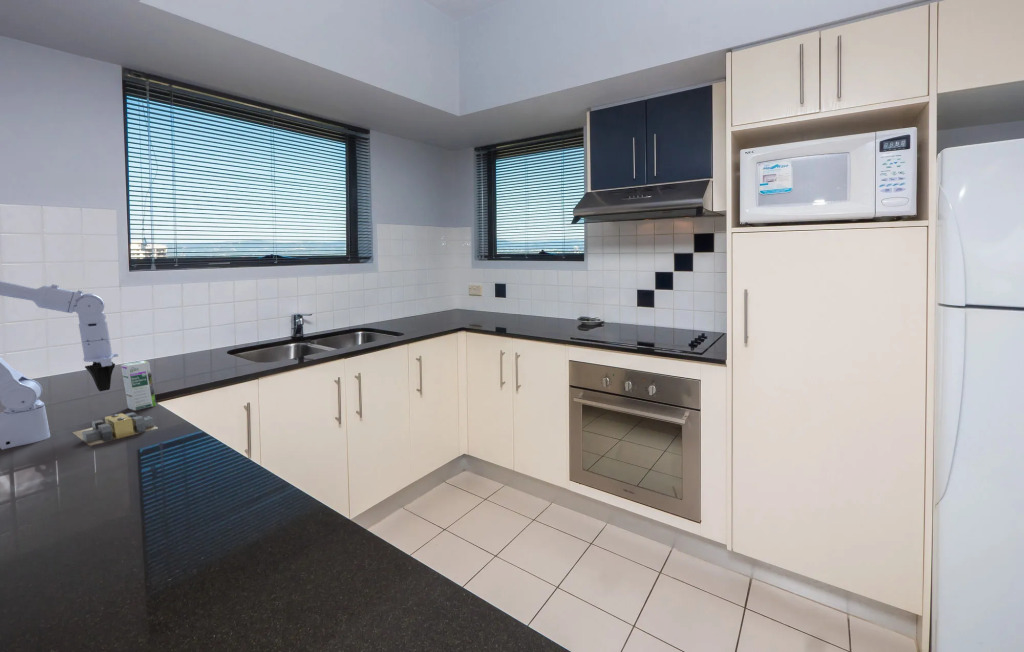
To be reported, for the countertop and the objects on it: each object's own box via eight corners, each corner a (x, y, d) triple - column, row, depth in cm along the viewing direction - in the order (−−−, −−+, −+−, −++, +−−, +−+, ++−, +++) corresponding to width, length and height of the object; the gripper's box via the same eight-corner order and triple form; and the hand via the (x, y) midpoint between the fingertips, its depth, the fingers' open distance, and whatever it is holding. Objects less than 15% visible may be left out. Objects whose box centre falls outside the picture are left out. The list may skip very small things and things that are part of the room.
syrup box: (134, 413, 147) (126, 365, 145) (127, 410, 150) (120, 363, 148) (157, 408, 151) (149, 361, 149) (150, 405, 155) (143, 359, 153)
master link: (116, 438, 122) (113, 421, 121) (107, 432, 127) (104, 416, 126) (134, 434, 125) (131, 417, 124) (124, 428, 130) (121, 412, 129)
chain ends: (90, 445, 118) (87, 430, 117) (80, 438, 123) (78, 424, 123) (158, 428, 129) (155, 414, 128) (146, 422, 134) (144, 409, 134)
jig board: (90, 448, 118) (89, 445, 118) (72, 435, 129) (72, 432, 129) (158, 431, 129) (158, 428, 129) (137, 419, 140) (137, 417, 140)
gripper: (122, 339, 129) (130, 390, 131) (107, 336, 138) (115, 383, 140) (87, 343, 123) (96, 396, 125) (74, 340, 132) (82, 389, 134)
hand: (104, 390), depth 132 cm, fingers closed
